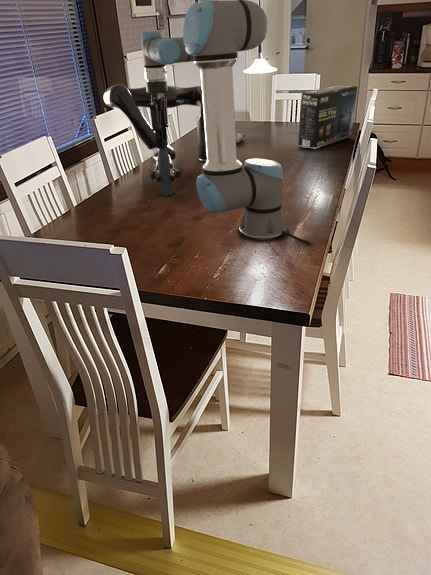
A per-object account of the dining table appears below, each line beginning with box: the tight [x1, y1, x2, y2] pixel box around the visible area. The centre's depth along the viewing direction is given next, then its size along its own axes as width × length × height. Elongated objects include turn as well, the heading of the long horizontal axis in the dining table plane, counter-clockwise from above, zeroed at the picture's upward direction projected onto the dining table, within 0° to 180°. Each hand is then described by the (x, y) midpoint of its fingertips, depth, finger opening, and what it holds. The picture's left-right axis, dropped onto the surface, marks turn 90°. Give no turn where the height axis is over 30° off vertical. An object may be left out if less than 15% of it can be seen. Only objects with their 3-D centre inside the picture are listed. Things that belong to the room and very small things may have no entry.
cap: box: [163, 139, 169, 148], centre depth 175 cm, size 4×4×2 cm
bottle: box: [157, 147, 174, 197], centre depth 180 cm, size 5×5×21 cm
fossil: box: [235, 129, 247, 144], centre depth 253 cm, size 18×11×15 cm
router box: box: [297, 84, 358, 151], centre depth 238 cm, size 36×11×27 cm, turn 134°
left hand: (165, 179), depth 179 cm, fingers closed on bottle, 4 cm apart
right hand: (162, 146), depth 175 cm, fingers closed on cap, 4 cm apart
